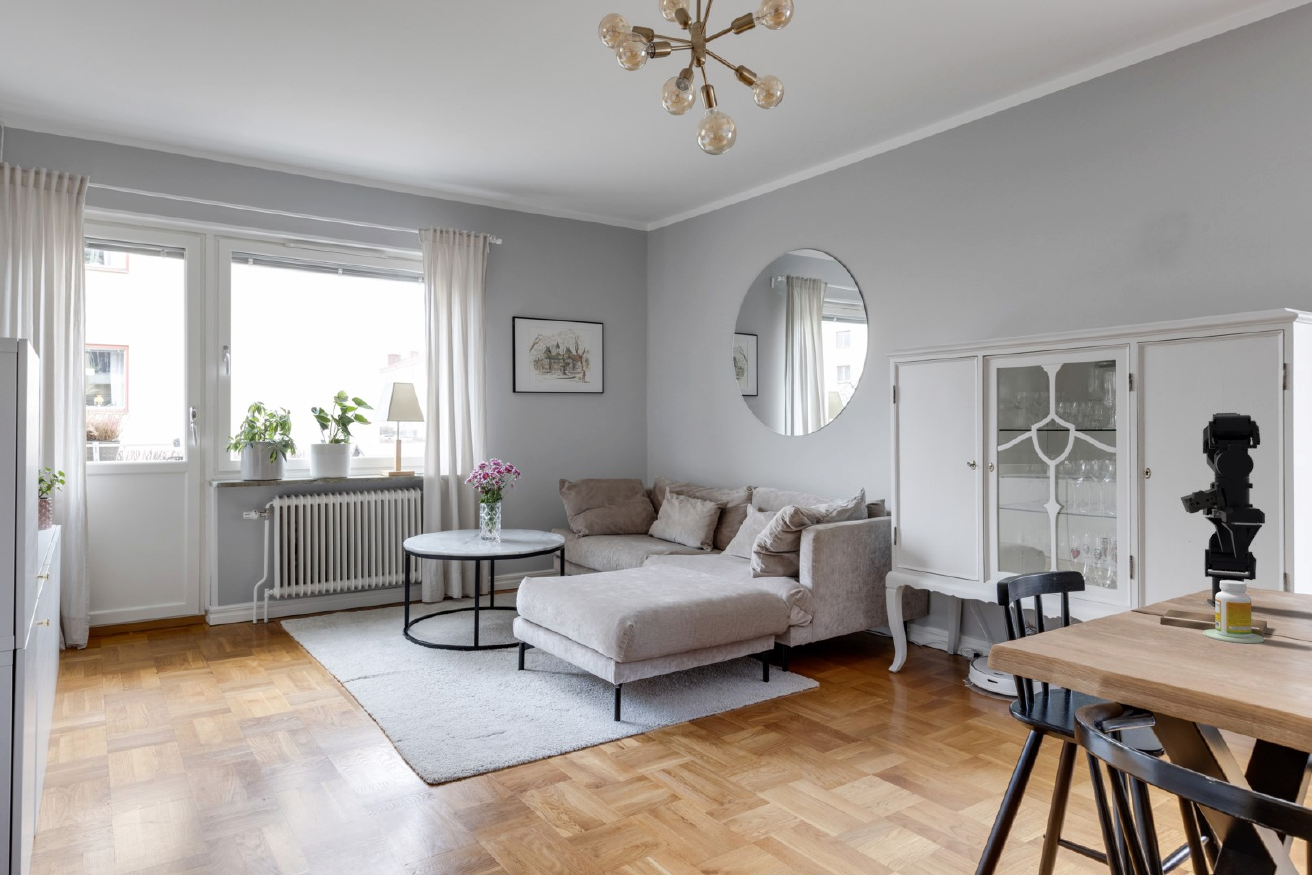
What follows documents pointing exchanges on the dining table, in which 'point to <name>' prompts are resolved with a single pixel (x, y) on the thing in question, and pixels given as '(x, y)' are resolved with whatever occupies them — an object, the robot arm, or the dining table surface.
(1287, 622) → the dining table surface
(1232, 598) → the supplement bottle
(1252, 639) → the end pad
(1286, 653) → the dining table surface
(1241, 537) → the robot arm
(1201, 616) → the walnut board
